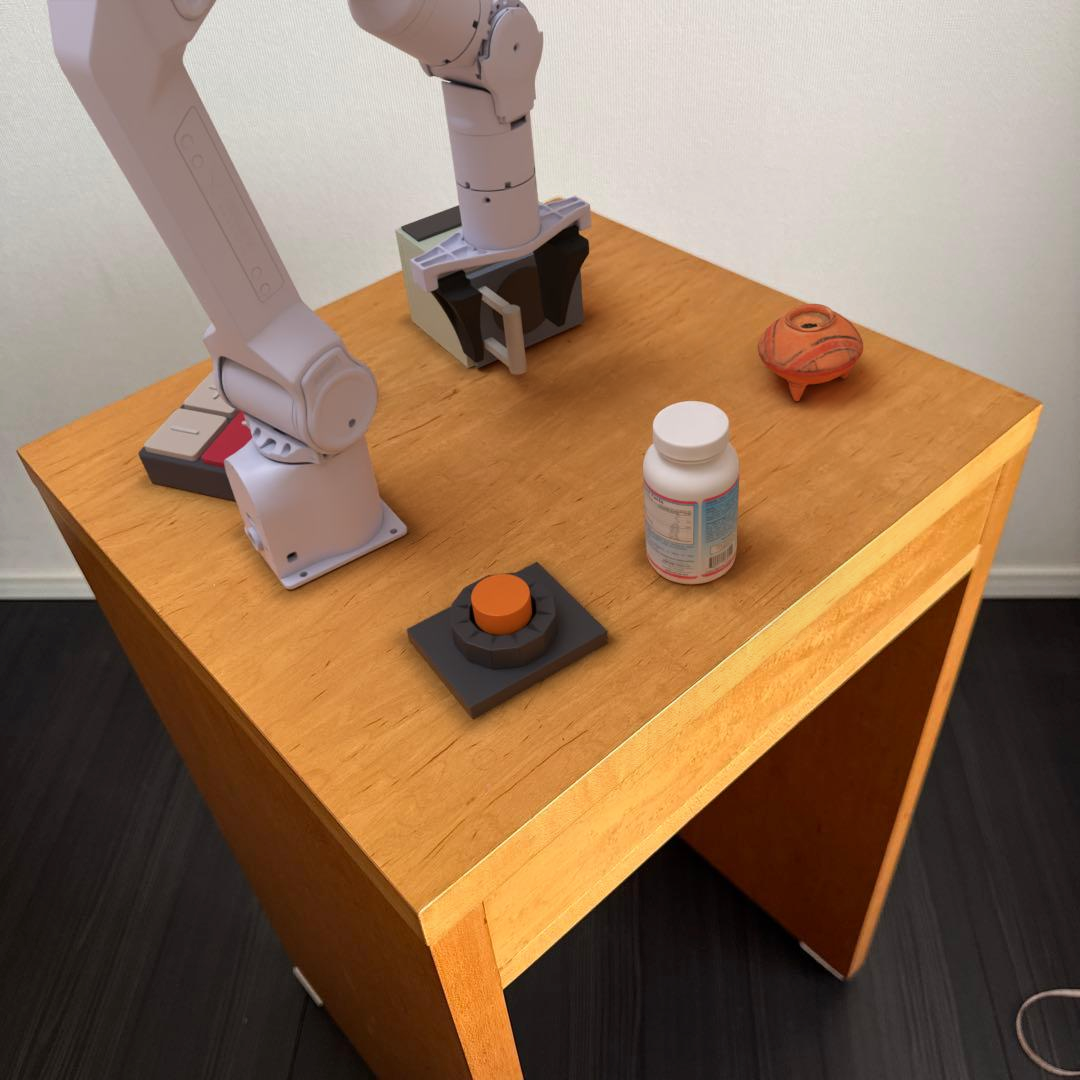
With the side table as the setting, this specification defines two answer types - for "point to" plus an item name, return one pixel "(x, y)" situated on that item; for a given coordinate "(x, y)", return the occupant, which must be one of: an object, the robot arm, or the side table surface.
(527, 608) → the button
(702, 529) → the pill bottle
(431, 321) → the washer
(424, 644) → the block
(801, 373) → the pot
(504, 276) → the washer door
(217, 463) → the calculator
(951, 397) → the side table surface
